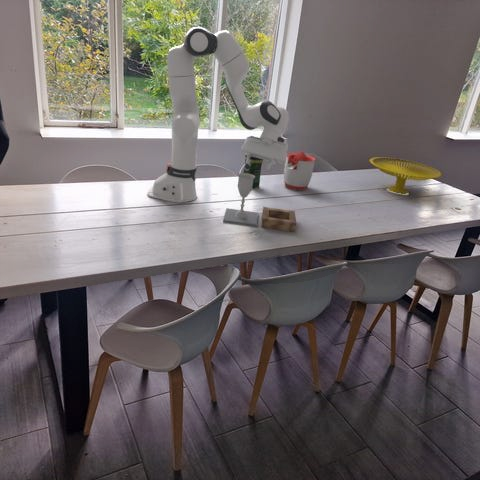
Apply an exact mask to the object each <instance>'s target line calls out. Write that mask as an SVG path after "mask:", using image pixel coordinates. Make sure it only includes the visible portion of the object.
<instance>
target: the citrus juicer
mask: <svg viewBox="0 0 480 480" xmlns="http://www.w3.org/2000/svg"><path fill="white" fill-rule="evenodd" d="M315 162H316V158H315V157H313V156H311V155H309V154H305V152H304V151H302V150H301V151H299V152H298V153H297V152H289V153H287V157H286V160H285V162H284V170H283V183H284V185H285V187H286V188H288V189H291V190H295V191H305V190H306V189H307V188H308V187H309V184H310V182H311V180H312V176H313V172H314V167H315Z"/></svg>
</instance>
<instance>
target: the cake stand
mask: <svg viewBox="0 0 480 480" xmlns="http://www.w3.org/2000/svg"><path fill="white" fill-rule="evenodd" d="M369 163H370V164H372V166H374V167H375V168H377V169H378V170H379V171H381V172H382V173H384V174H387V175H389V176H391V177H392V176H393V177H395V178H396V180H395V184H394V185H392V186H388V189H389V190H390V191H393V192H396V193H401V194H406V193H409V192H410V191H408V190H407V189H406V188H404V187H405V184H406V182H407V180H410V181H419V182H420V181H427V180H433V179H436V178H437V179H438V178H441V177H442V172H441V171H440V170H438V169H436V168H434V167H432V166H429V165H426V164H422V163H420V162H416V161H411V160H408V159H402V158H396V157H393V158H392V157H387V156H386V157H384V156H383V157H379V156H378V157H372V158H370V159H369Z"/></svg>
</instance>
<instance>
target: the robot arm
mask: <svg viewBox="0 0 480 480" xmlns="http://www.w3.org/2000/svg"><path fill="white" fill-rule="evenodd" d="M209 55H212V56H213V57H214V58H215V60H217V62H218V63H219V66H220V67H221V70H222V71H223V74H224V77H225V80H224V83H225V86H226V89H227V91H228V92H227V93H229V96H230V99H231V101H232V102H233V105H234V107H235V109H236V111H237V115H238V117H239V122H240V124H241V125H242V127H244V128H245V129H246V130H248V131H253V130H255V129H257V128H259V127H263V130H262V132H261V134H260V136H259V137H258V136H253V135H250V136H247V137H246V139H245V140H244V143H243V144H242V146H241V148H240V149H241V152H242V155H244V156H245V155H247V160H246V163H247V164H250V163H251V159H249V158H250V157H251V156H252V157H256V158H260V159H263V161H268V162H270V163H266V166H265V168H266V170H269V171H270V170H271V168H272V167H273V166H275V164H279V165H283V164H285V163H286V157H287V154H288V150H289V144H288V140H287V139H285V138H284V137H282V136H283V134H285V132H286V129H287V127H288V125H289V121H290V115H289V111H288V110H286V109H285V108H284V107H282V106H277V105H275V104H274V103H273V102H271V101H270V100H262V101H260V102H257V103H256V104H253V105H251V104H250V103H249V102H248V99H247V97H246V95H245V92H244V90H243V85H242V84H243V81H244V79H245V78H246V76H247V75H248V73H249V69H250V63H249V59H248V57H247V55H246V53H245V51H244V49H243V48H242V46H241V45H240V44H239V42H238V40H237V39H236V37H234V35H233V34H232V33H231V32H230V31H228V30H220V31H218V32H216V33H215V34H214V33H213V32H212V31H210V30H208V29H207V28H205V27H204V26H201V25H200V26H199V25H197V26H193V27H191V28H189V29H188V31H186V33H185V35H184V39H183V42H182V44H181V45H176V46H174V47H172V48H170V49H169V50H168V51H167V57H166V70H167V71H166V72H167V79H168V81H167V82H168V87H169V88H168V89H169V97H170V99H171V100H170V101H171V105H172V111H173V119H172V120H171V121H172V122H171V163H170V162H169V163H168V164H167V166H166V167H165V169H166V171H165V172H166V173H164V174H162V175H160V176H159V177H157V178H156V179H155V180H154V182H153V185H152V187H150V188H149V189H148V191H147V196H148V197H149V198H154V199H158V200H162V201H168V202H172V203H178V204H179V203H183V202H191V201H194V200H196V199H197V197H198V195H197V190H196V180H197V173H198V172H197V170H198V169H197V155H198V137H199V136H198V135H199V127H200V124H201V118H200V112H199V111H200V110H199V109H200V108H199V103H198V96H197V87H196V78H195V77H196V76H195V65H194V64H195V60H196V59H197V58H200V57H205V56H209Z"/></svg>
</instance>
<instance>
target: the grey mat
mask: <svg viewBox="0 0 480 480" xmlns="http://www.w3.org/2000/svg"><path fill="white" fill-rule="evenodd" d="M238 210H239V209H234V208H228V207H227V208H226V209H225V213H224V216H223V218H222V219H223V221H222V223H225V224H232V225H233V224H234V225H239V226H241V225H242V226H248V227H256V228H257V226H258V216H259V215H258V214H259V213H258V211H257V212H256V211H249V210H244V211H245V212H246V215H247V218H238V217H236V216H235V215H236V213H237V211H238Z"/></svg>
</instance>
